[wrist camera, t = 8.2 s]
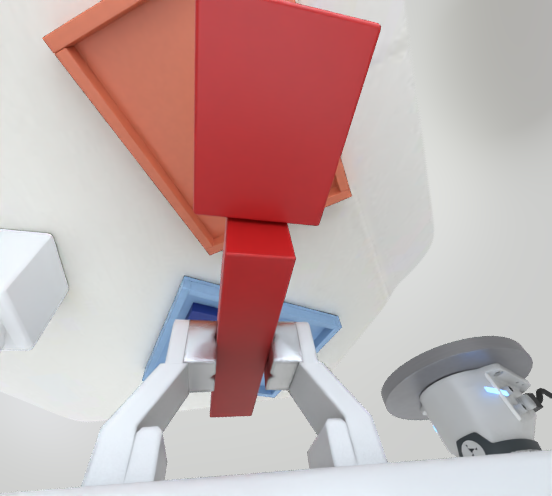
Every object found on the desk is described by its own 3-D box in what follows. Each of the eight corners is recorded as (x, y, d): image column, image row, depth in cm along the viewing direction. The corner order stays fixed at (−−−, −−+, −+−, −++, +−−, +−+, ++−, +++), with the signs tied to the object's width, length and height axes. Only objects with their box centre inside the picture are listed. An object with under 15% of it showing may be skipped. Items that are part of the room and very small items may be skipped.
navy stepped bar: (183, 321, 34) (180, 341, 32) (193, 302, 32) (190, 321, 30) (288, 343, 39) (291, 361, 37) (301, 327, 37) (305, 345, 35)
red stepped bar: (201, -15, 6) (182, -35, 4) (363, 23, 7) (419, 24, 5) (194, 361, 14) (187, 418, 12) (267, 361, 15) (271, 415, 13)
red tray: (346, 187, 26) (352, 196, 24) (210, 244, 28) (209, 255, 27) (263, -92, 15) (265, -103, 14) (56, 36, 17) (41, 37, 16)
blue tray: (338, 316, 37) (342, 327, 36) (273, 387, 46) (274, 397, 45) (184, 275, 30) (182, 287, 29) (145, 368, 39) (141, 381, 38)
